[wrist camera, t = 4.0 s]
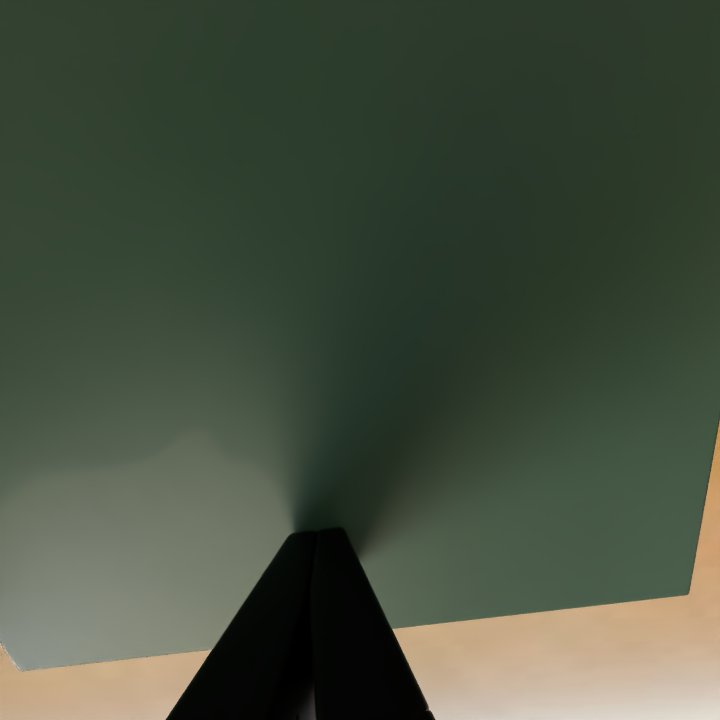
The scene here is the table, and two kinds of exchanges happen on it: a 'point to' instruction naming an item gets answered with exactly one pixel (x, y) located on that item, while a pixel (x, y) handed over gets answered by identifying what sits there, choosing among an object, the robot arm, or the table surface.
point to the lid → (351, 307)
